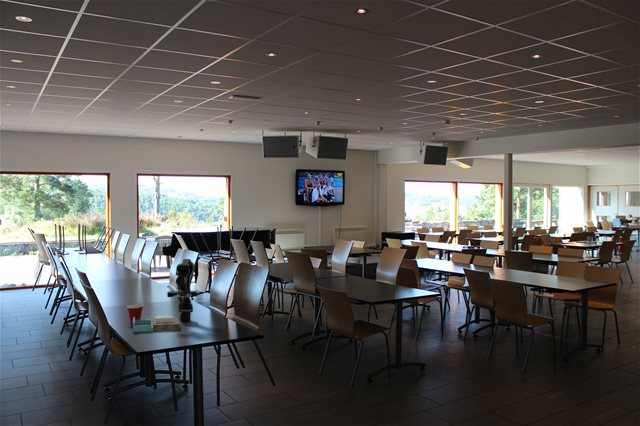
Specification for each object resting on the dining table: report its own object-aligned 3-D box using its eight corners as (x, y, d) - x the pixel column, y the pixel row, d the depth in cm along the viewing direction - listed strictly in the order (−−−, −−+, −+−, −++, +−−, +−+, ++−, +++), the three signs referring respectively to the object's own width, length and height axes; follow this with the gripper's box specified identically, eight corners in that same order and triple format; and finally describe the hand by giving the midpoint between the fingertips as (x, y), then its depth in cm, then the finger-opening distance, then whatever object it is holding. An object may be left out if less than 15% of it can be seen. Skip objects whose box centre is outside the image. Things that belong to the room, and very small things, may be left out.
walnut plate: (177, 324, 354) (177, 318, 354) (179, 329, 339) (179, 323, 339) (152, 325, 349) (152, 319, 349) (153, 331, 334) (153, 324, 334)
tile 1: (163, 320, 346) (163, 316, 346) (163, 322, 341) (163, 317, 341) (155, 321, 344) (155, 316, 344) (155, 322, 339) (155, 318, 339)
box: (152, 325, 350) (152, 316, 350) (153, 331, 333) (153, 322, 333) (133, 326, 346) (133, 316, 346) (132, 332, 329) (133, 323, 329)
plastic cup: (126, 321, 358) (126, 304, 358) (142, 320, 362) (143, 303, 362) (126, 325, 348) (126, 307, 348) (143, 324, 352) (143, 306, 351)
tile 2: (171, 320, 347) (172, 315, 347) (172, 322, 343) (172, 317, 343) (164, 320, 346) (164, 316, 346) (164, 322, 341) (164, 317, 341)
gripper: (168, 285, 336) (167, 310, 336) (198, 284, 342) (197, 309, 342) (167, 283, 347) (166, 306, 347) (196, 282, 353) (196, 305, 353)
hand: (181, 307), depth 347 cm, fingers closed
